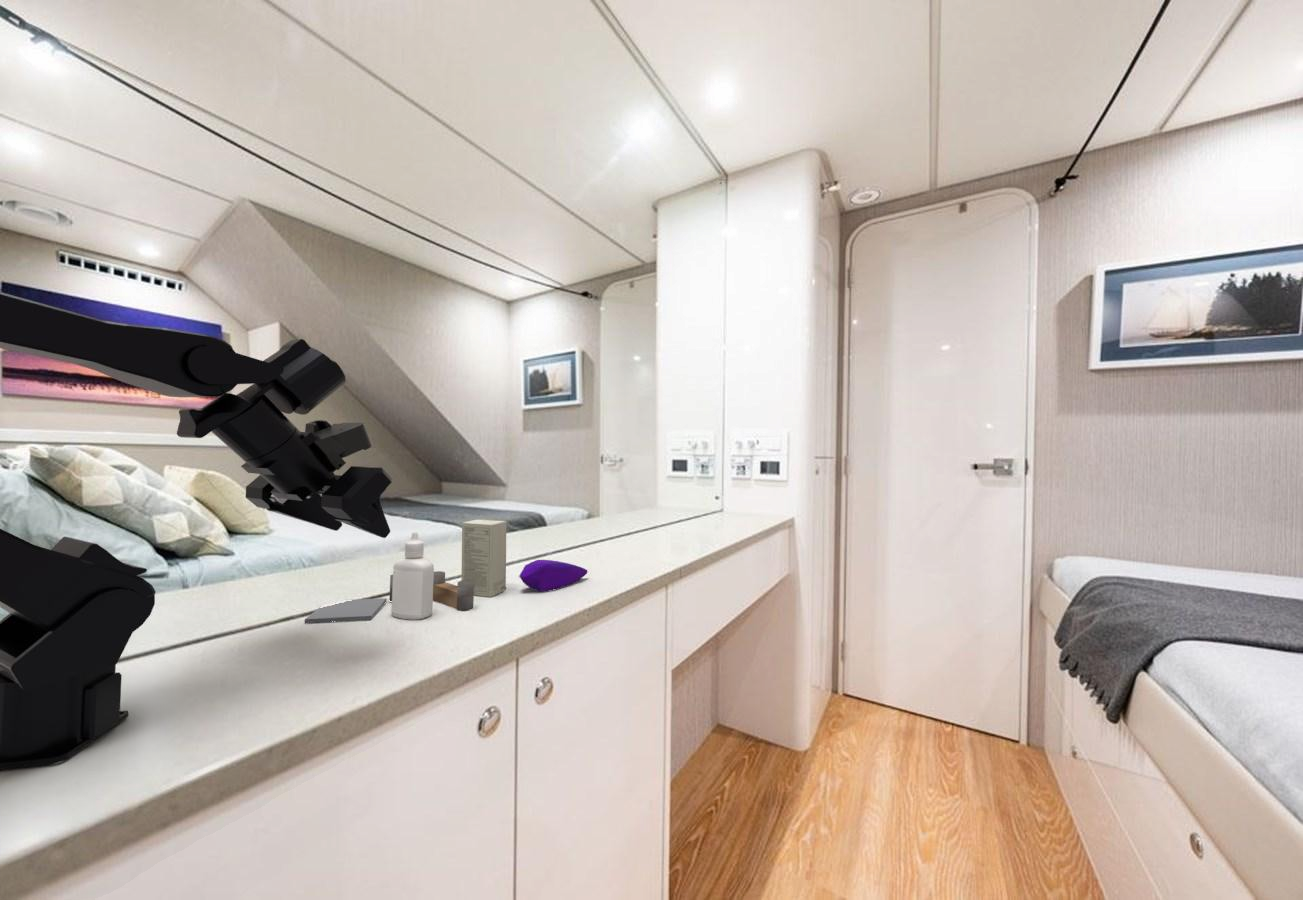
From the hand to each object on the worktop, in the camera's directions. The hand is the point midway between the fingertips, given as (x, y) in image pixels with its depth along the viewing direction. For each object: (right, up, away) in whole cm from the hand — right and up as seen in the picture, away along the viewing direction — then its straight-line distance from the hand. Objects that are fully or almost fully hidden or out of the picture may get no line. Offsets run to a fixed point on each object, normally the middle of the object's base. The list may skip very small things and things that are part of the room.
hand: (362, 531), depth 60 cm
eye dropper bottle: (+3, -14, +7) cm, 16 cm away
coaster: (-7, -13, +8) cm, 17 cm away
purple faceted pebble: (+20, -15, +25) cm, 35 cm away
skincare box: (+9, -14, +19) cm, 25 cm away
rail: (+3, -14, +13) cm, 19 cm away
